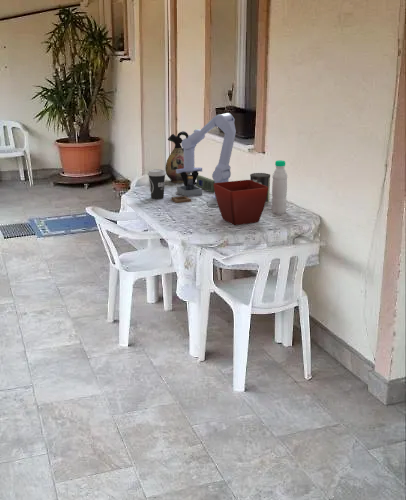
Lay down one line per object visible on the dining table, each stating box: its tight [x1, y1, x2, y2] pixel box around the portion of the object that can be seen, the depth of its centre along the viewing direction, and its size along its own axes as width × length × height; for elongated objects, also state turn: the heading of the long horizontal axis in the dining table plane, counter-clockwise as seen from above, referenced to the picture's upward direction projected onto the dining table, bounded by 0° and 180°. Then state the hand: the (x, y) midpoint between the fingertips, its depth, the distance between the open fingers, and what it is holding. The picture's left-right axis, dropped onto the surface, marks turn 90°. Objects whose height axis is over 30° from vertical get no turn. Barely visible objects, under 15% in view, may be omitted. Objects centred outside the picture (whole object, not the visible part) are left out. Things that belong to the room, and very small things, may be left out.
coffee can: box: [249, 172, 271, 204], centre depth 323 cm, size 10×10×14 cm
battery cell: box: [186, 174, 193, 190], centre depth 341 cm, size 4×4×9 cm
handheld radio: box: [195, 174, 215, 194], centre depth 357 cm, size 7×3×25 cm
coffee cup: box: [147, 168, 167, 200], centre depth 331 cm, size 10×10×15 cm
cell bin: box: [176, 184, 203, 197], centre depth 342 cm, size 12×10×4 cm
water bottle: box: [271, 160, 288, 215], centre depth 300 cm, size 7×7×25 cm
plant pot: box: [214, 179, 269, 226], centre depth 286 cm, size 19×19×17 cm
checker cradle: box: [170, 195, 193, 204], centre depth 327 cm, size 9×9×2 cm
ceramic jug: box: [164, 130, 192, 184], centre depth 371 cm, size 17×15×30 cm
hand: (189, 185), depth 342 cm, fingers closed on battery cell, 4 cm apart
